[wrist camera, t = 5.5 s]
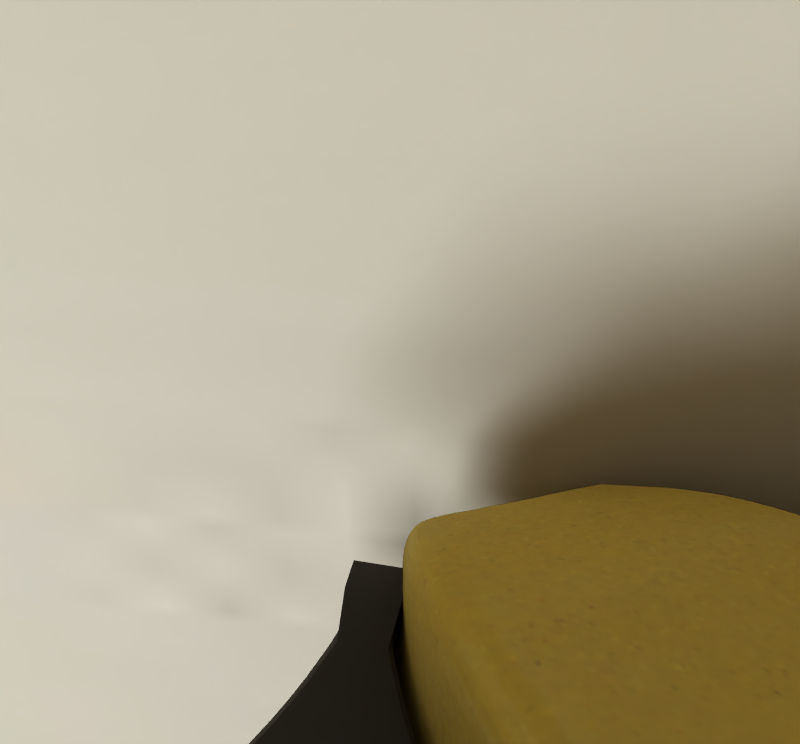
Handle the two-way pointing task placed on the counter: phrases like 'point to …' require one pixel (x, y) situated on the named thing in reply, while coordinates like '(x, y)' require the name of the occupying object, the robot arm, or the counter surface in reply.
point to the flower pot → (603, 621)
